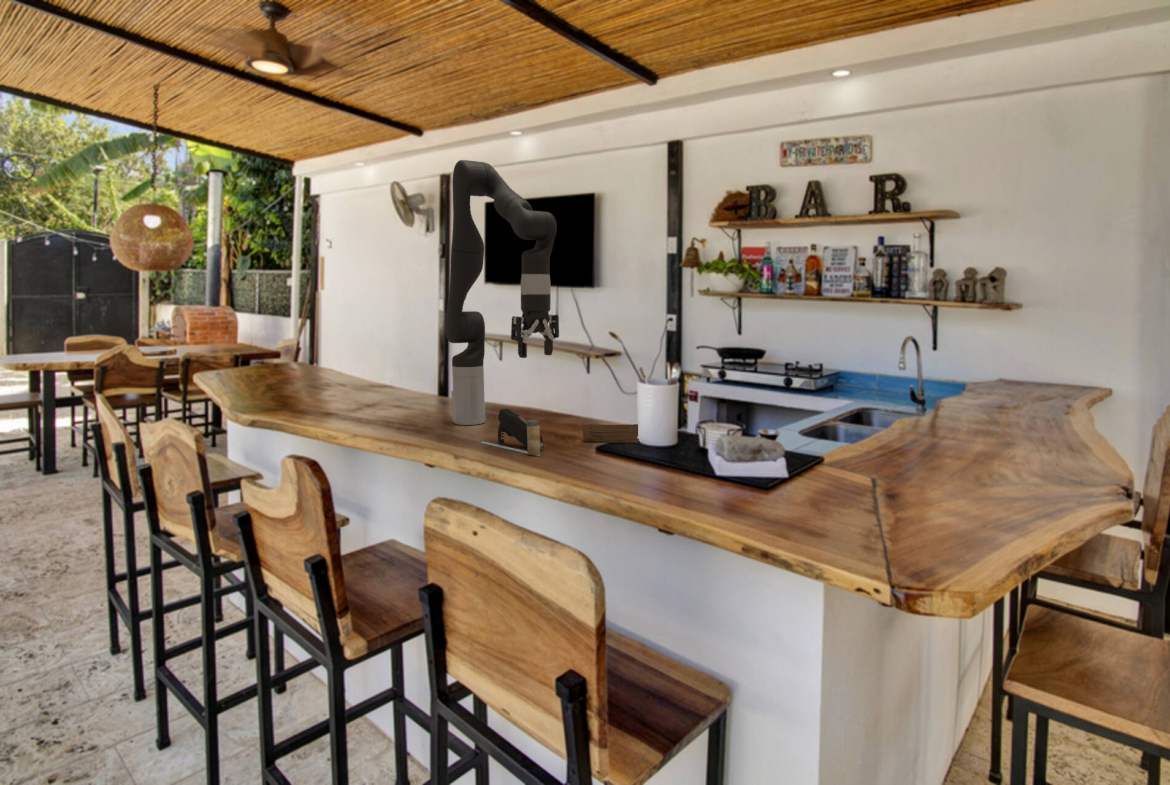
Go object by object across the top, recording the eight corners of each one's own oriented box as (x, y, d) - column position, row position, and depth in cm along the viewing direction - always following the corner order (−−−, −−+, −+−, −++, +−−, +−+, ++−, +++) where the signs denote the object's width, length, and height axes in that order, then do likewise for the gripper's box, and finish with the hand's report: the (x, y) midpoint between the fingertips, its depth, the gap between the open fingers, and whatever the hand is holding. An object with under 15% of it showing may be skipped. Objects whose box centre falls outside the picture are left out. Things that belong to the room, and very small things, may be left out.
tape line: (480, 442, 179) (480, 442, 179) (483, 442, 180) (483, 441, 180) (537, 456, 164) (537, 455, 164) (540, 455, 165) (540, 454, 165)
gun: (528, 472, 172) (541, 439, 168) (488, 435, 180) (500, 403, 176) (536, 469, 174) (549, 437, 170) (496, 433, 182) (508, 402, 178)
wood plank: (642, 442, 180) (642, 423, 179) (641, 443, 178) (642, 424, 177) (583, 441, 181) (583, 422, 180) (582, 443, 179) (582, 424, 178)
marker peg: (524, 453, 166) (524, 421, 165) (534, 451, 168) (533, 419, 167) (533, 455, 164) (532, 422, 163) (543, 453, 166) (542, 420, 165)
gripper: (546, 291, 182) (546, 353, 184) (504, 292, 171) (504, 357, 174) (566, 292, 176) (565, 355, 179) (523, 293, 166) (524, 360, 169)
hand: (535, 356), depth 177 cm, fingers open, 8 cm apart
